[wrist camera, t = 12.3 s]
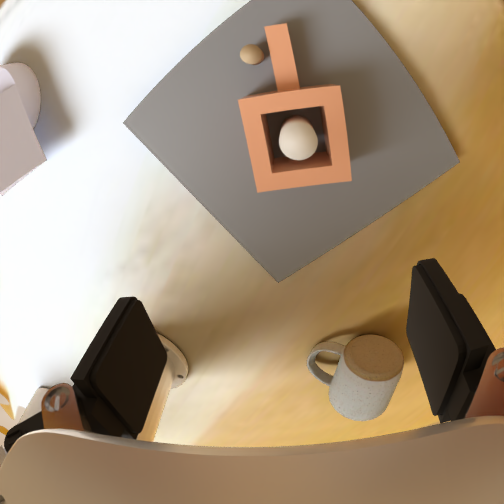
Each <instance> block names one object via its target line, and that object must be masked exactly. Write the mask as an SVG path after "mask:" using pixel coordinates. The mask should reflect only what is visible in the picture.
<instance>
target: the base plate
mask: <svg viewBox="0 0 504 504" xmlns="http://www.w3.org/2000/svg"><path fill="white" fill-rule="evenodd" d="M285 23H287V27H288V32H289V36H290V41H291V46H292V51H293V55H294V60H295V65H296V70H297V76H298V81H299V86H300V87H307V86H316V85H325V84H335V85H340V87H341V94H342V100H343V107H344V115H345V122H346V130H347V138H348V147H349V156H350V166H351V177H352V181H347V182H338V183H329V184H320V185H312V186H303V187H295V188H288V189H280V190H273V191H266V192H259V193H257V188H256V183H255V178H254V174H253V169H252V164H251V159H250V154H249V150H248V145H247V140H246V136H245V131H244V126H243V122H242V117H241V112H240V108H239V103H238V100H239V99H241V98H243V97H245V96H248V95H254V94H260V93H265V92H272V91H278V90H277V85H276V80H275V75H274V70H273V65H272V60H271V56H270V51H269V46H268V42H267V37H266V33H265V28H264V27H265V26H271V25H278V24H285ZM248 44H253V45H256V46H258V47H259V48H260V49H261V50H262V51H263V53H264V59H263V61H262V62H261V63H260V64H258V65H251V64H248V63H245V62H244V61H243V60H242V59H241V57H240V51H241V49H242V48H243V47H244V46H245V45H248ZM266 116H267V121H268V126H269V131H270V136H271V141H272V147H273V152H274V157H275V158H279V157H286V156H287V157H289V158H291V159H293V160H304V159H307V158H309V157H310V156H312V155H313V154H314V153H317V152H326V147H325V140H324V133H323V126H322V120H321V113H320V107H319V106H317V107H308V108H301V109H293V110H286V111H279V112H273V113H266ZM123 123H124V124H125V125H126V127H127V128H128V129H129V130H130V131H131V132H132V133H133V134H134V135H135V136H136V137H137V138H138V139H139V140H140V141H141V142H142V143H143V144H144V145H145V146H146V147H147V148H148V149H149V150H150V151H151V152H152V153H153V154H154V156H155V157H156V158H157V159H158V160H159V161H160V162H161V163H162V164H163V165H164V166H165V167H166V168H167V169H168V170H169V171H170V172H171V173H172V174H173V175H174V176H175V177H176V178H177V179H178V180H179V181H180V182H181V183H182V184H183V185H184V187H185V188H186V189H187V190H188V191H189V192H190V193H191V194H192V195H193V196H194V197H195V198H196V199H197V200H198V201H199V202H200V203H201V204H202V205H203V206H204V207H205V208H206V209H207V210H208V211H209V212H210V213H211V214H212V215H213V216H214V217H215V218H216V220H217V221H218V222H219V223H220V224H221V225H222V226H223V227H224V228H225V229H226V230H227V231H228V232H229V233H230V234H231V235H232V236H233V237H234V238H235V239H236V240H237V241H238V242H239V243H240V244H241V245H242V246H243V247H244V248H245V249H246V250H247V251H248V252H249V253H250V255H251V256H252V257H253V258H254V259H255V260H256V261H257V262H258V263H259V264H260V265H261V266H262V267H263V268H264V269H265V270H266V271H267V272H268V273H269V274H270V275H271V276H272V277H273V278H274V279H275V280H276V281H277V282H278V283H279V282H280V281H282V280H284V279H285V278H287V277H288V276H290V275H292V274H293V273H295V272H296V271H298V270H300V269H301V268H303V267H304V266H306V265H307V264H309V263H311V262H312V261H314V260H315V259H317V258H318V257H320V256H322V255H323V254H325V253H326V252H328V251H329V250H331V249H333V248H334V247H336V246H337V245H339V244H340V243H342V242H343V241H345V240H346V239H348V238H349V237H351V236H353V235H354V234H356V233H357V232H359V231H360V230H362V229H363V228H365V227H366V226H368V225H369V224H371V223H372V222H374V221H375V220H377V219H378V218H380V217H381V216H383V215H384V214H386V213H387V212H389V211H390V210H392V209H393V208H395V207H396V206H398V205H399V204H401V203H402V202H403V201H405V200H406V199H408V198H409V197H411V196H412V195H414V194H415V193H417V192H418V191H420V190H421V189H422V188H424V187H425V186H427V185H428V184H430V183H431V182H432V181H434V180H435V179H437V178H438V177H440V176H441V175H442V174H444V173H445V172H447V171H448V170H449V169H451V168H452V167H454V166H455V165H456V164H458V163H459V162H460V161H459V159H458V157H457V155H456V153H455V151H454V149H453V147H452V145H451V143H450V141H449V139H448V137H447V135H446V133H445V132H444V130H443V128H442V126H441V124H440V122H439V121H438V119H437V117H436V115H435V114H434V112H433V110H432V109H431V107H430V105H429V104H428V102H427V100H426V99H425V97H424V95H423V94H422V92H421V91H420V89H419V87H418V86H417V84H416V83H415V81H414V80H413V78H412V77H411V75H410V74H409V72H408V71H407V69H406V68H405V67H404V65H403V64H402V62H401V61H400V59H399V58H398V57H397V55H396V54H395V53H394V51H393V50H392V49H391V47H390V46H389V45H388V43H387V42H386V41H385V39H384V38H383V37H382V36H381V34H380V33H379V32H378V31H377V29H376V28H375V27H374V26H373V24H372V23H371V22H370V21H369V20H368V18H367V17H366V16H365V15H364V14H363V13H362V11H361V10H360V9H359V8H358V7H357V6H356V5H355V4H354V2H353V1H352V0H251V1H249V2H248V3H247V4H246V5H244V6H243V7H242V8H240V9H239V10H238V11H237V12H235V13H234V14H233V15H232V16H230V17H229V18H228V19H227V20H225V21H224V22H223V23H222V24H221V25H219V26H218V27H217V28H216V29H215V30H214V31H212V32H211V33H210V34H209V35H208V36H207V37H206V38H204V39H203V40H202V41H201V42H200V43H199V44H198V45H197V46H196V47H195V48H193V49H192V50H191V51H190V52H189V53H188V54H187V55H186V56H185V57H184V58H183V59H182V60H181V61H180V62H179V63H178V64H177V65H176V66H175V67H174V68H173V69H172V70H171V71H170V72H169V73H168V74H167V75H166V76H165V77H164V78H163V79H162V80H161V81H160V82H159V83H158V84H157V85H156V86H155V87H154V88H153V89H152V90H151V92H150V93H149V94H148V95H147V96H146V97H145V98H144V99H143V100H142V101H141V103H140V104H139V105H138V106H137V107H136V108H135V109H134V111H133V112H132V113H131V114H130V115H129V116H128V118H127V119H126V120H125V121H124V122H123Z"/></svg>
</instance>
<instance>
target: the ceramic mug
mask: <svg viewBox="0 0 504 504" xmlns="http://www.w3.org/2000/svg"><path fill="white" fill-rule="evenodd" d="M320 351H328V352H332V353H335V354H338V355H341V357H340V360H339V362H338V366H337V369H336V371H335V374H334V376H332V375H329V374H328V373H326V372H324V371H323V370H322V369H320V368H319V367H318V365H317V364H316V363H315V358H316V355H317V354H318V353H319V352H320ZM403 365H404V358H403V354H402V352H401V350H400V348H399V347H398V346H397V345H396V344H395V343H394V342H393V341H391V340H390V339H388V338H385V337H383V336H379V335H372V334H370V335H362V336H358V337H356V338H354V339H353V340H351V341H350V342H349V343H348V344H347V345H346V346H344V345H341V344H339V343H335V342H322V343H319V344H317V345H316V346H315V347H313V349H312V351H311V353H310V354H309V356H308V359H307V367H308V369H309V371H310V372H311V374H312V375H313V376H314V377H315V378H317V379H318V380H319V381H321V382H322V383H324V384H326V385H328V386H330V388H329V399H330V402H331V404H332V406H333V407H334V409H335V410H336V411H337V412H338V413H340V414H341V415H342V416H344V417H346V418H349V419H351V420H355V421H367V420H371V419H374V418H376V417H378V416H380V415H381V414H382V413H383V412H384V411H385V410H386V408H387V406H388V404H389V402H390V399H391V397H392V395H393V393H394V391H395V388H396V386H397V384H398V382H399V379H400V377H401V374H402V370H403Z"/></svg>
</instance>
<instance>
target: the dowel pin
mask: <svg viewBox="0 0 504 504" xmlns="http://www.w3.org/2000/svg"><path fill="white" fill-rule="evenodd" d="M240 57H241V59H242V60H243V61H244V62H245V63H248V64H251V65H258V64H260V63H261V62H262V61H263V59H264V53H263V51H262V50H261V49H260V48H259V47H258V46H256V45H253V44H248V45H245V46H244V47H243V48H242V49H241V51H240Z"/></svg>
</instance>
